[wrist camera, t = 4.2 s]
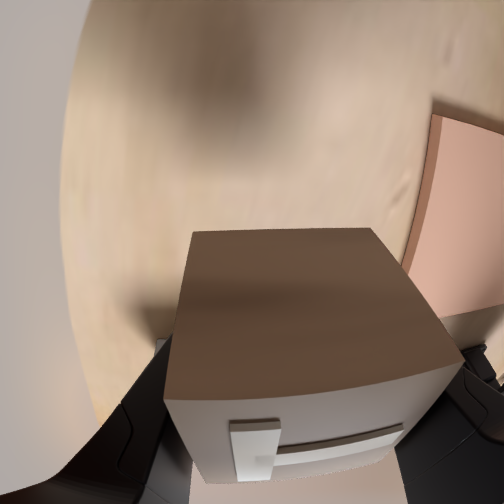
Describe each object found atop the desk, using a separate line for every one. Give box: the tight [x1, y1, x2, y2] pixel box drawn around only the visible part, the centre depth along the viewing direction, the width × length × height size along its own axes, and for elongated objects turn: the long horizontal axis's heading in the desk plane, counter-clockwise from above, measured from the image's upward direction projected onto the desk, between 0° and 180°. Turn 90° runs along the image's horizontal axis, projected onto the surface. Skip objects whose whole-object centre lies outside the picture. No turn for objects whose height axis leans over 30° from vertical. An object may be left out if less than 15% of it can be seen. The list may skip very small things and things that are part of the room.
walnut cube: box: [163, 228, 465, 484], centre depth 7 cm, size 5×5×5 cm
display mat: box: [401, 114, 504, 318], centre depth 16 cm, size 14×14×1 cm
